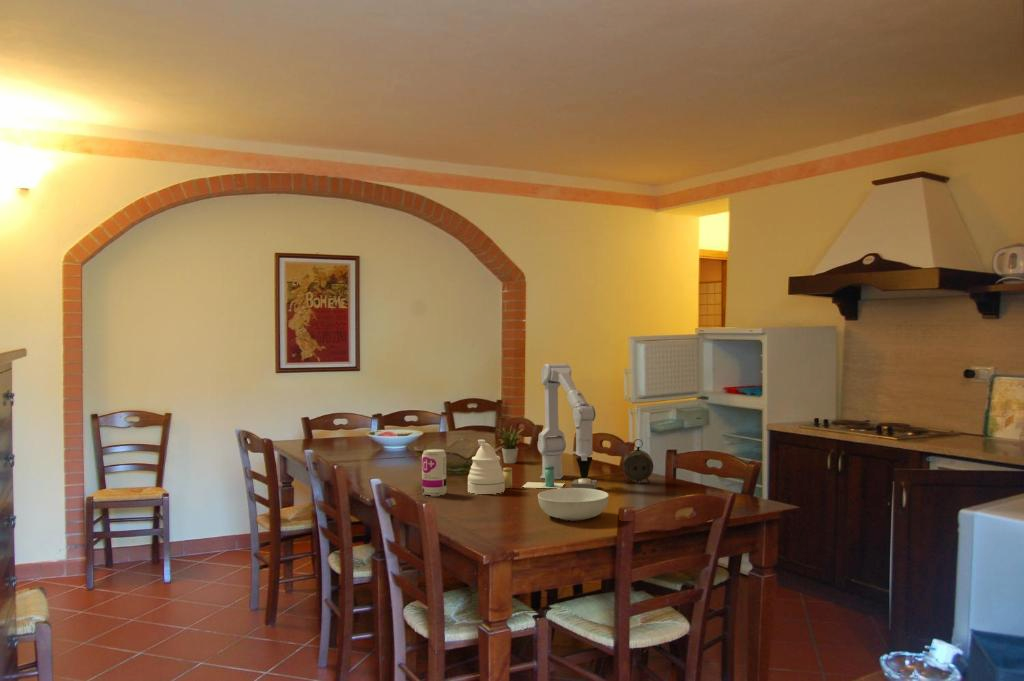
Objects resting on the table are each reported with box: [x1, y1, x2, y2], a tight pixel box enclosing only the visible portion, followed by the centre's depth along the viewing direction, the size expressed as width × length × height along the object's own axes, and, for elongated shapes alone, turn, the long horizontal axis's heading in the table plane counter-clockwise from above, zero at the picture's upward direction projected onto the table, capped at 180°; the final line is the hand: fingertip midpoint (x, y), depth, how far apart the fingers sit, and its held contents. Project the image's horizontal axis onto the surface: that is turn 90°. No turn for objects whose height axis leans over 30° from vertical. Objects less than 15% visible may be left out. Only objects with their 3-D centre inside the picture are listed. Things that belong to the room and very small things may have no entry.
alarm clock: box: [622, 438, 654, 485], centre depth 274 cm, size 11×5×16 cm, turn 84°
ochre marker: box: [502, 467, 513, 489], centre depth 266 cm, size 3×3×7 cm
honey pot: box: [467, 439, 506, 495], centre depth 261 cm, size 13×13×18 cm
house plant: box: [495, 425, 524, 464], centre depth 324 cm, size 14×14×16 cm
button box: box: [571, 479, 598, 490], centre depth 264 cm, size 8×8×2 cm
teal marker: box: [544, 466, 555, 487], centre depth 267 cm, size 3×3×7 cm
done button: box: [577, 478, 592, 483], centre depth 264 cm, size 4×4×3 cm
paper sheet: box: [521, 481, 566, 489], centre depth 269 cm, size 10×14×1 cm
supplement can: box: [421, 448, 447, 497], centre depth 255 cm, size 8×8×15 cm
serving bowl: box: [537, 487, 610, 522], centre depth 221 cm, size 21×21×7 cm
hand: (584, 478), depth 264 cm, fingers closed
